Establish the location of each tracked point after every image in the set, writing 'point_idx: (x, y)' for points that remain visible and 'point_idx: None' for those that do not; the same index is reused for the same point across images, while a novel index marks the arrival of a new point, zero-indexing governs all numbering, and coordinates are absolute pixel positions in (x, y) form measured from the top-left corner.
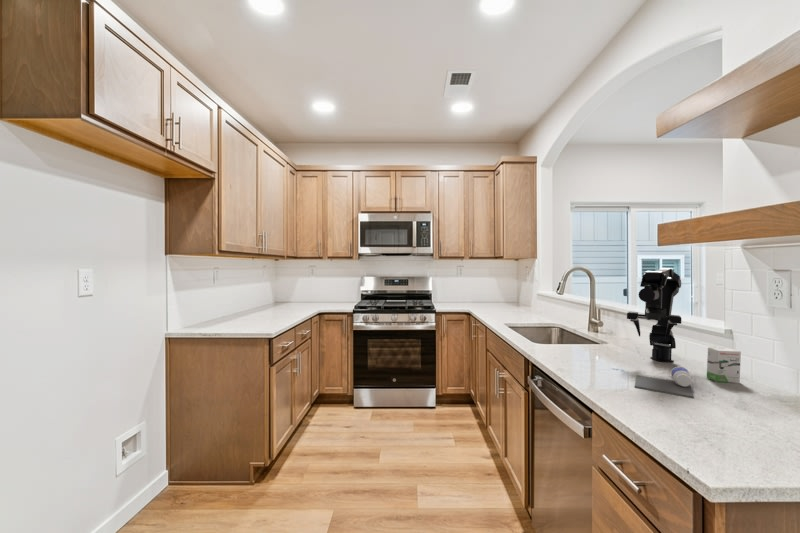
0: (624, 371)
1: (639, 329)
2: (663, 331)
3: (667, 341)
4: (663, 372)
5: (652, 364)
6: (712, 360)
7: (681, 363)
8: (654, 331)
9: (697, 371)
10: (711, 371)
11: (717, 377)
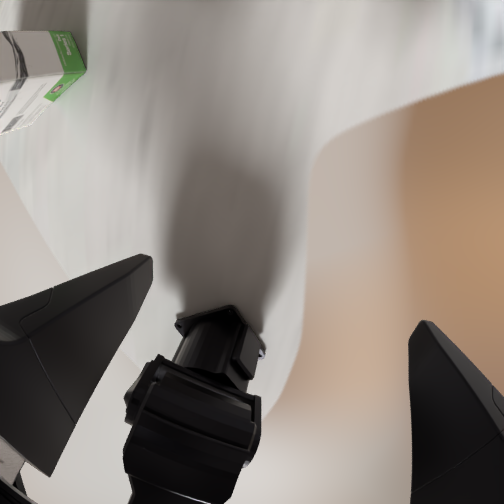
0: (469, 7)
1: (465, 380)
2: (166, 448)
3: (164, 379)
4: (264, 55)
5: (286, 234)
6: (7, 51)
7: (151, 308)
8: (224, 460)
9: (101, 185)
10: (52, 49)
11: (55, 32)
